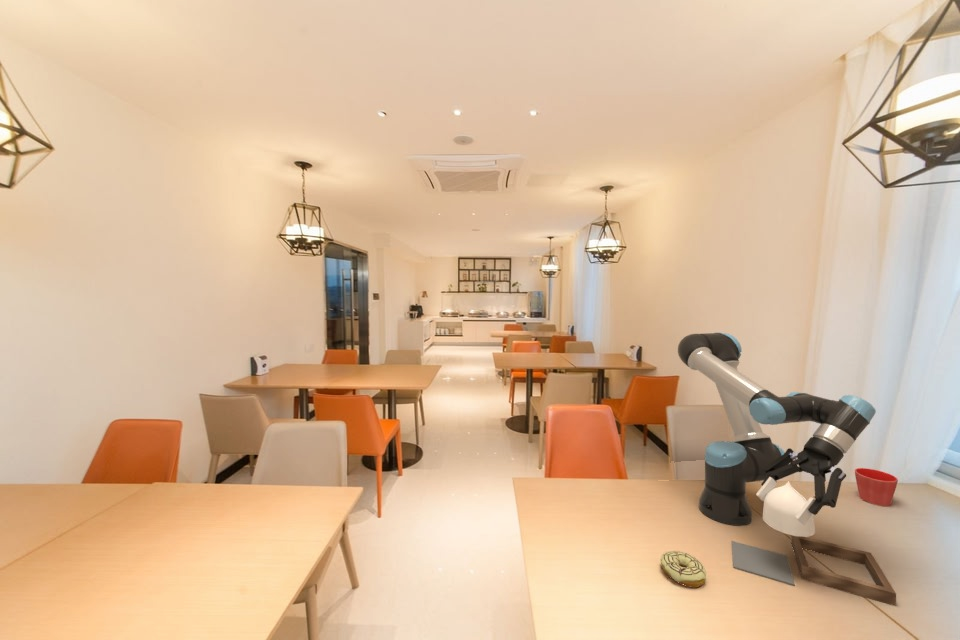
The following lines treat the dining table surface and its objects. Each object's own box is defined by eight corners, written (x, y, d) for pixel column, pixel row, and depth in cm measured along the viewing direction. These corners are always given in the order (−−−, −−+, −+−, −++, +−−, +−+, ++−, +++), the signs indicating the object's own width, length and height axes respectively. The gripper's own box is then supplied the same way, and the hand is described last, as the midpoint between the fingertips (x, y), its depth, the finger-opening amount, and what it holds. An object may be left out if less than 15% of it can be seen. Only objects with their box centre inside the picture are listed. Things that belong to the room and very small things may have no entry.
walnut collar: (802, 579, 98) (802, 568, 98) (791, 543, 112) (791, 533, 112) (895, 605, 89) (896, 593, 89) (870, 563, 103) (870, 552, 103)
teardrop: (804, 515, 105) (805, 474, 104) (823, 540, 95) (824, 494, 94) (756, 508, 109) (757, 468, 108) (770, 531, 99) (770, 487, 98)
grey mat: (733, 567, 103) (733, 566, 103) (731, 542, 114) (731, 540, 114) (795, 586, 96) (795, 584, 96) (786, 556, 107) (786, 555, 107)
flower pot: (907, 508, 130) (907, 480, 130) (874, 508, 130) (875, 481, 130) (875, 493, 141) (875, 467, 140) (845, 493, 141) (846, 468, 140)
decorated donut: (675, 591, 95) (675, 577, 95) (653, 562, 106) (653, 549, 105) (715, 588, 96) (715, 574, 95) (688, 559, 106) (688, 546, 106)
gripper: (887, 472, 92) (833, 544, 90) (793, 438, 115) (749, 494, 113) (870, 454, 91) (816, 526, 89) (779, 422, 113) (734, 480, 111)
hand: (778, 508), depth 101 cm, fingers closed on teardrop, 10 cm apart
